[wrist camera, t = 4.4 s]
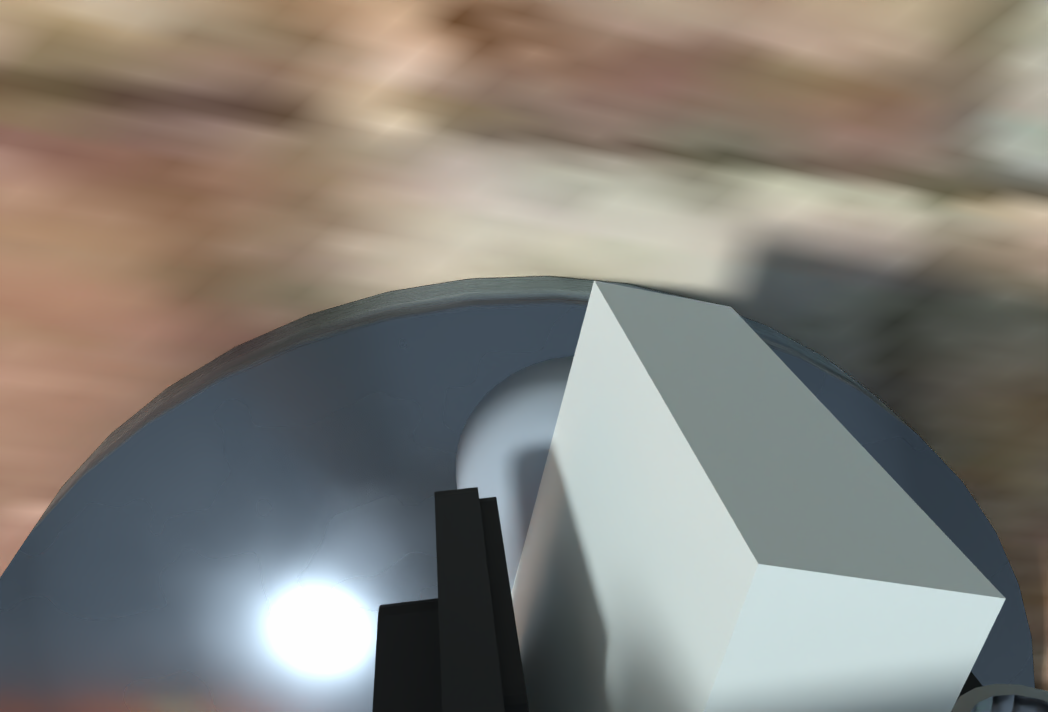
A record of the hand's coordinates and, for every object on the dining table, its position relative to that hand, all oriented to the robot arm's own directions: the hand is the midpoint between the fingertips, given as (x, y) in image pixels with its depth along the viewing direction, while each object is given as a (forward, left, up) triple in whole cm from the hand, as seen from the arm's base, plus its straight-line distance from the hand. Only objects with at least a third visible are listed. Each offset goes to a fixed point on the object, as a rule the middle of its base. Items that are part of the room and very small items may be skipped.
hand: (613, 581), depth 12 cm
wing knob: (0, 0, -3) cm, 3 cm away
